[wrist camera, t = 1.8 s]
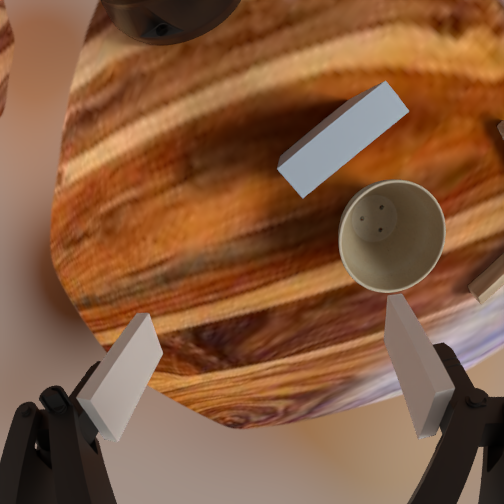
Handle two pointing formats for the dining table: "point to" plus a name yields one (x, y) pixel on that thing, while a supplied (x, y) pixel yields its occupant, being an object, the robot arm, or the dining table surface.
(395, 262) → the flower pot
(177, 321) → the dining table surface
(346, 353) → the dining table surface
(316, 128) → the pale blue rectangular prism
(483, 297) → the l-shaped bracket
